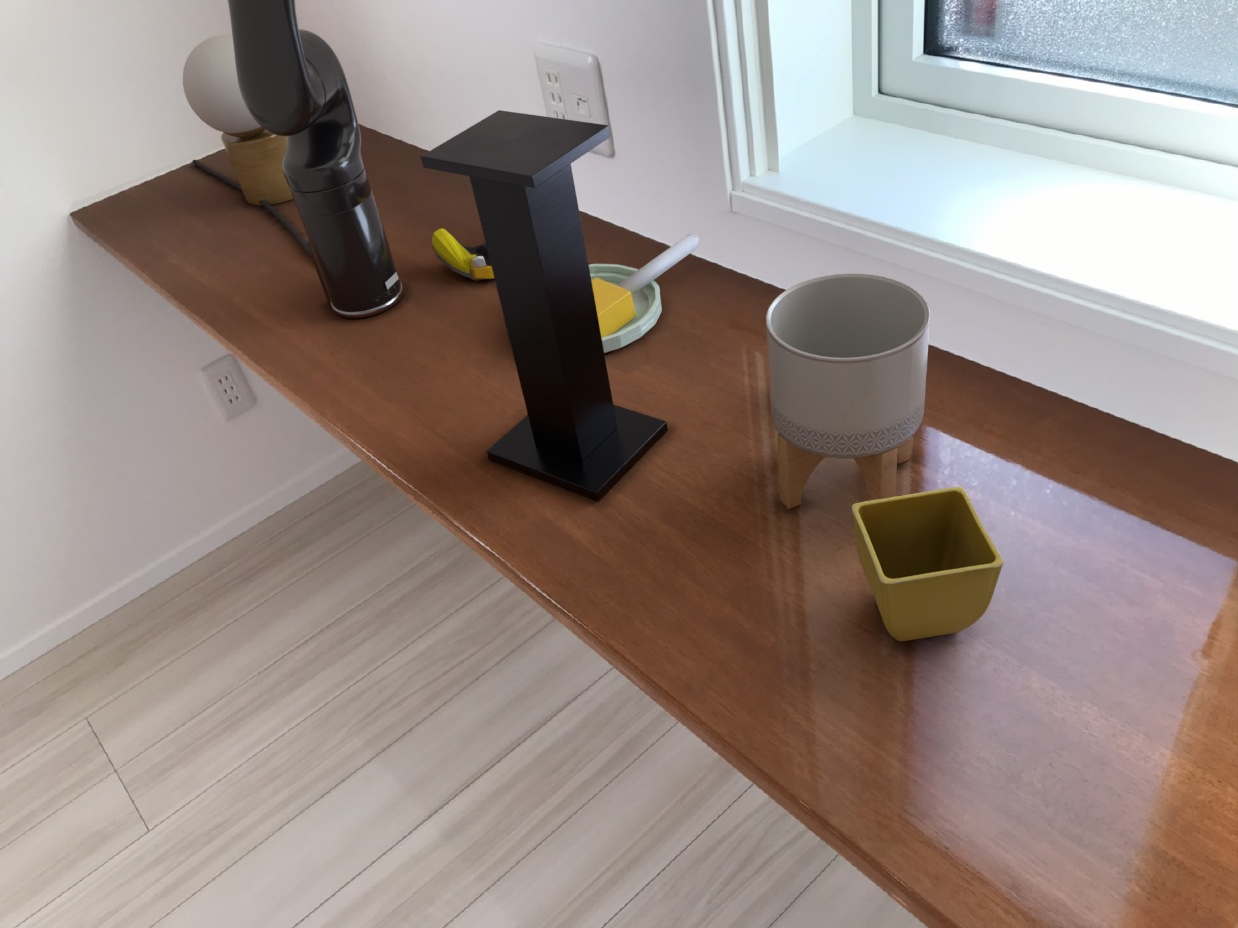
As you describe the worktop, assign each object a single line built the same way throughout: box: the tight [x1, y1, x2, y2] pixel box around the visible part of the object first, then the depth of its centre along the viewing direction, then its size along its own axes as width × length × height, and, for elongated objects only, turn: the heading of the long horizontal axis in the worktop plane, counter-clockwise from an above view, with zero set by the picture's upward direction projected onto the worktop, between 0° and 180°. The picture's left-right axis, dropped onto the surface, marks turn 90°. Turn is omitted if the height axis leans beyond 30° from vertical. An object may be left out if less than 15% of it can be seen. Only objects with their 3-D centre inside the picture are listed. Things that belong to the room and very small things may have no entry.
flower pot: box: [851, 486, 1004, 642], centre depth 77 cm, size 9×9×9 cm
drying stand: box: [420, 109, 669, 502], centre depth 92 cm, size 14×12×32 cm
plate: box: [589, 263, 663, 354], centre depth 121 cm, size 18×18×2 cm
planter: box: [765, 273, 931, 510], centre depth 87 cm, size 13×13×18 cm
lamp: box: [182, 34, 293, 206], centre depth 156 cm, size 15×14×25 cm
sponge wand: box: [591, 233, 700, 338], centre depth 120 cm, size 6×20×4 cm, turn 133°
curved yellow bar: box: [431, 228, 494, 282], centre depth 134 cm, size 15×6×10 cm
